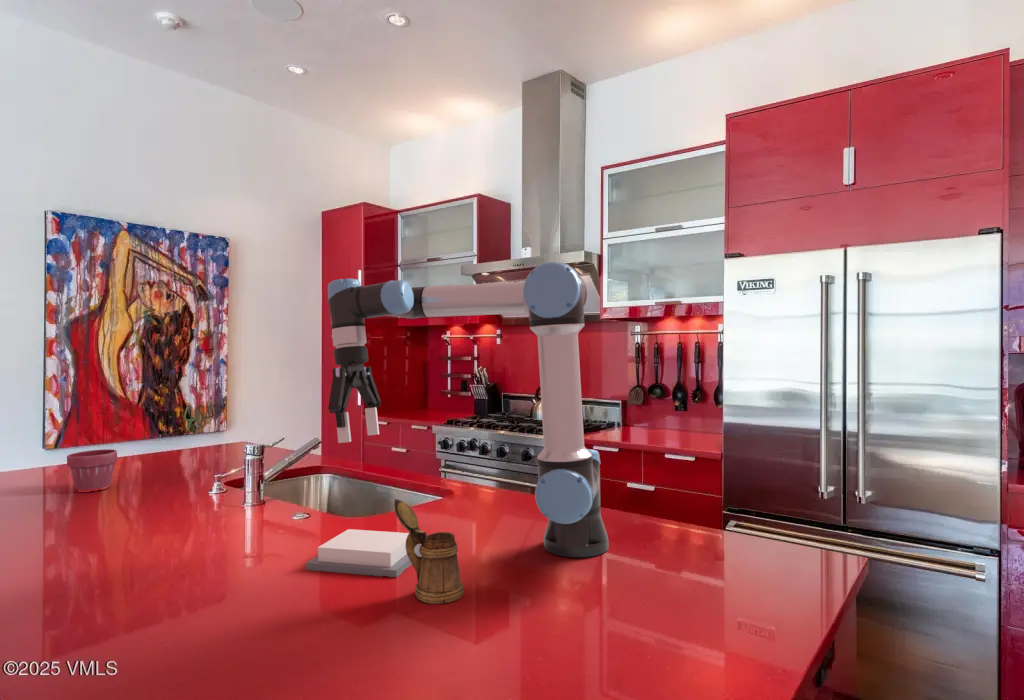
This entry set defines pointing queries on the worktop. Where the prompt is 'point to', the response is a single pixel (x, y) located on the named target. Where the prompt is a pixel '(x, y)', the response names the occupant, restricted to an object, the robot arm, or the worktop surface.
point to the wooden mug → (431, 560)
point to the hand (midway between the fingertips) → (359, 438)
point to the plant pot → (92, 468)
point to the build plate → (362, 567)
